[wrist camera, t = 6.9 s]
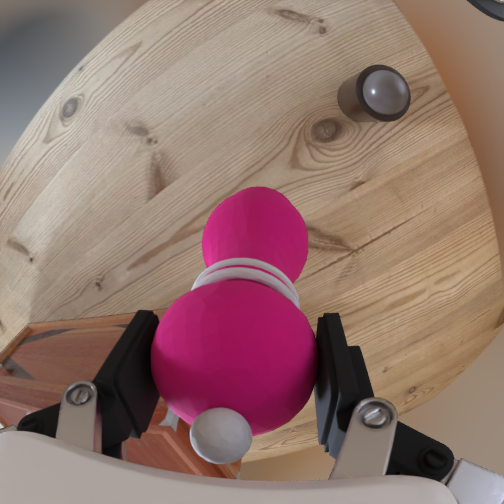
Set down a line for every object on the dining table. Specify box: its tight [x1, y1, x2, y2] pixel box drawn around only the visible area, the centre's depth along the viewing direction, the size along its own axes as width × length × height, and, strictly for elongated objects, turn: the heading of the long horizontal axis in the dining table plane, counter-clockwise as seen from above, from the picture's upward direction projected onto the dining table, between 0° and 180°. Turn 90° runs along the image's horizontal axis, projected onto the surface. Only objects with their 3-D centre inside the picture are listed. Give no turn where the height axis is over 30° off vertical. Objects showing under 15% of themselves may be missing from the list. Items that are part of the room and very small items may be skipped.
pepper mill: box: [151, 187, 319, 464], centre depth 16 cm, size 7×7×20 cm
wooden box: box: [0, 308, 242, 480], centre depth 38 cm, size 20×41×20 cm, turn 104°
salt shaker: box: [338, 65, 411, 122], centre depth 24 cm, size 5×5×10 cm
